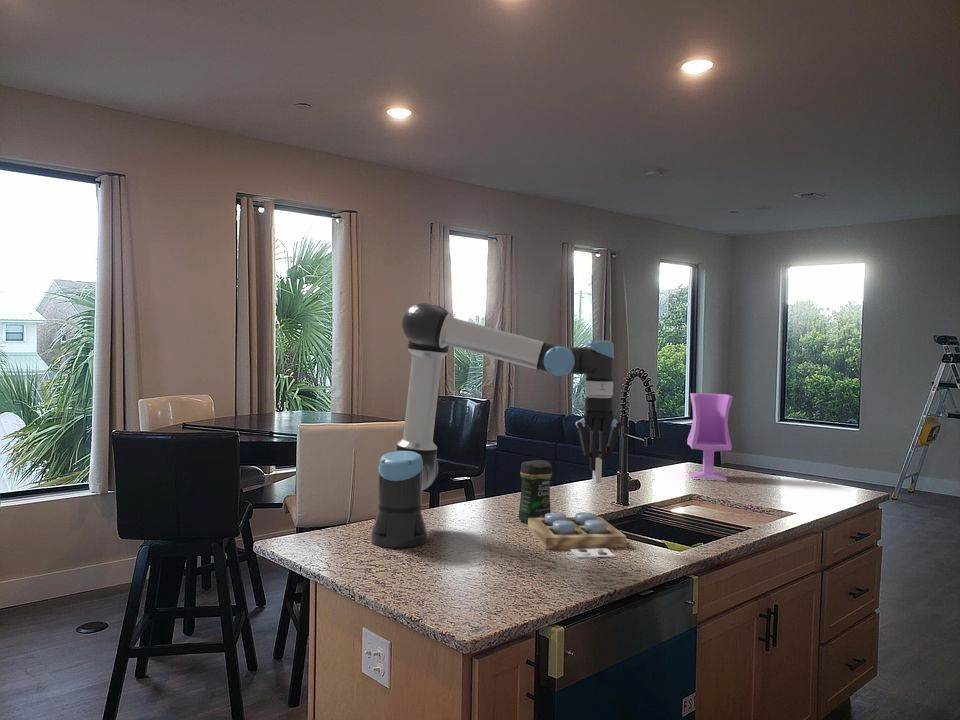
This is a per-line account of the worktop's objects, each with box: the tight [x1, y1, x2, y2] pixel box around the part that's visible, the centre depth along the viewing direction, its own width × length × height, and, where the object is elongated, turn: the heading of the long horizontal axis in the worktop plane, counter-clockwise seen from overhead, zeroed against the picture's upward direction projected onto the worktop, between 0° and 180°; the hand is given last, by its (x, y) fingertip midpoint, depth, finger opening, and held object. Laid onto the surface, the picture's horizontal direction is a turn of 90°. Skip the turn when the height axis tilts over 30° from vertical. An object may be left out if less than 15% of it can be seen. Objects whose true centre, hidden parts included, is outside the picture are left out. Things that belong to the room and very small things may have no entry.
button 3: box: [574, 512, 597, 526], centre depth 206 cm, size 6×6×2 cm
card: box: [569, 548, 616, 559], centre depth 185 cm, size 10×7×1 cm
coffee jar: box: [518, 459, 553, 524], centre depth 218 cm, size 10×8×19 cm
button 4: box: [584, 520, 607, 534], centre depth 197 cm, size 6×6×2 cm
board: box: [527, 516, 627, 550], centre depth 201 cm, size 22×22×3 cm
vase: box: [686, 392, 734, 479], centre depth 300 cm, size 16×16×35 cm
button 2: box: [553, 520, 575, 535], centre depth 196 cm, size 6×6×2 cm
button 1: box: [545, 512, 567, 526], centre depth 205 cm, size 6×6×2 cm
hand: (596, 482), depth 197 cm, fingers closed
